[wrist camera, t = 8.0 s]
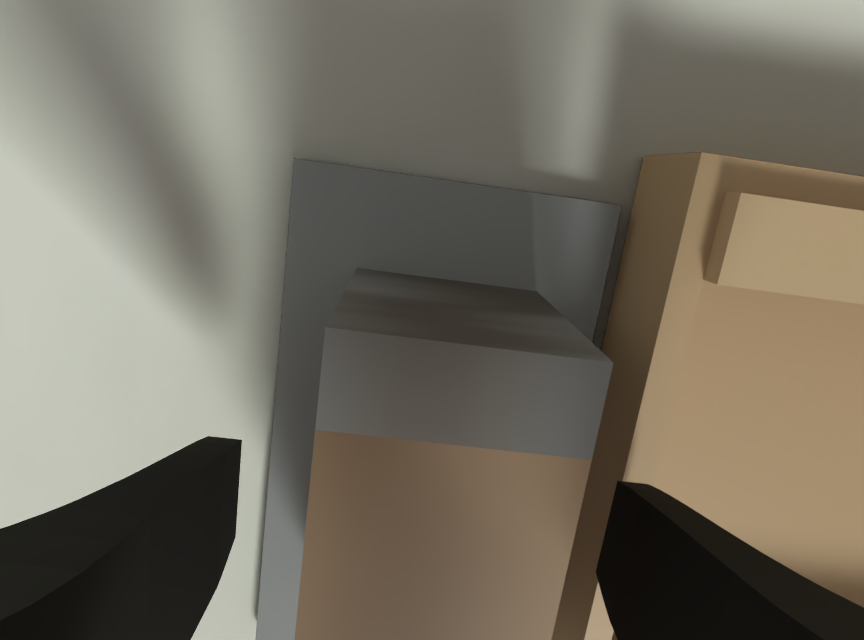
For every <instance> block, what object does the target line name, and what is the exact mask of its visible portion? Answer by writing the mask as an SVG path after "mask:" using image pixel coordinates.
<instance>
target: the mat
mask: <svg viewBox="0 0 864 640" xmlns="http://www.w3.org/2000/svg"><path fill="white" fill-rule="evenodd" d="M621 206H622V205H616V204H609V203H602V202H595V201H589V200H582V199H575V198H568V197H561V196H554V195H547V194H540V193H533V192H526V191H519V190H512V189H505V188H498V187H491V186H484V185H477V184H470V183H463V182H456V181H449V180H442V179H435V178H429V177H422V176H415V175H408V174H401V173H394V172H387V171H380V170H373V169H366V168H359V167H352V166H345V165H338V164H331V163H324V162H317V161H310V160H303V159H296V158H294V167H293V179H292V192H291V204H290V217H289V229H288V242H287V254H286V267H285V279H284V292H283V304H282V316H281V329H280V341H279V354H278V366H277V379H276V391H275V404H274V416H273V429H272V441H271V454H270V466H269V479H268V491H267V504H266V516H265V529H264V541H263V554H262V566H261V578H260V591H259V603H258V616H257V628H256V640H294V639H295V629H296V619H297V609H298V599H299V588H300V578H301V568H302V558H303V548H304V538H305V527H306V517H307V507H308V497H309V487H310V477H311V466H312V456H313V446H314V436H315V426H316V416H317V405H318V395H319V385H320V375H321V365H322V355H323V345H324V334H325V327H326V325H327V323H328V321H329V319H330V317H331V315H332V313H333V312H334V310H335V308H336V306H337V304H338V302H339V300H340V298H341V297H342V295H343V293H344V291H345V289H346V287H347V285H348V283H349V282H350V280H351V278H352V276H353V274H354V272H355V270H356V268H362V269H370V270H378V271H385V272H393V273H401V274H408V275H416V276H424V277H431V278H439V279H447V280H454V281H462V282H469V283H477V284H485V285H492V286H500V287H508V288H515V289H523V290H531V291H537V292H538V293H539V294H540V295H541V296H542V297H544V298H545V299H546V300H547V301H548V302H549V303H550V304H551V305H552V306H553V307H554V308H555V309H556V310H558V311H559V312H560V313H561V314H562V315H563V316H564V317H565V318H566V319H567V320H568V321H569V322H570V323H572V324H573V325H574V326H575V327H576V328H577V329H578V330H579V331H580V332H581V333H582V334H583V335H584V336H586V337H587V338H588V339H589V340H590V341H591V342H592V341H593V337H594V332H595V327H596V323H597V318H598V313H599V309H600V304H601V299H602V295H603V290H604V285H605V281H606V276H607V271H608V267H609V262H610V257H611V252H612V248H613V243H614V238H615V234H616V229H617V224H618V220H619V215H620V210H621Z"/></svg>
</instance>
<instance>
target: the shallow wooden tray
mask: <svg viewBox="0 0 864 640" xmlns="http://www.w3.org/2000/svg"><path fill="white" fill-rule="evenodd" d="M601 351H602V352H603V353H604V354H605V355H606V356H607V357H608V358H609V359H610V360H611V361H612V362H614V363H613V368H612V372H611V377H610V381H609V385H608V390H607V394H606V399H605V403H604V408H603V412H602V417H601V421H600V426H599V430H598V434H597V439H596V443H595V448H594V452H593V457H592V461H591V466H590V470H589V475H588V479H587V483H586V488H585V492H584V497H583V501H582V506H581V510H580V515H579V519H578V524H577V528H576V532H575V537H574V541H573V546H572V550H571V555H570V559H569V564H568V568H567V573H566V577H565V581H564V586H563V590H562V595H561V599H560V604H559V608H558V613H557V617H556V622H555V626H554V630H553V635H552V639H551V640H618V639H617V637H616V635H615V632H614V630H613V628H612V625H611V623H610V620H609V617H608V614H607V610H606V607H605V604H604V601H603V597H602V593H601V590H600V586H599V582H598V578H597V575H596V568H597V564H598V560H599V556H600V551H601V547H602V543H603V539H604V535H605V531H606V526H607V522H608V518H609V514H610V510H611V505H612V501H613V497H614V493H615V489H616V485H617V481H625V482H634V483H643V484H649V485H651V486H653V487H655V488H658V489H659V490H661V491H663V492H665V493H667V494H669V495H670V496H672V497H674V498H675V499H677V500H679V501H680V502H682V503H684V504H685V505H687V506H688V507H690V508H692V509H693V510H695V511H696V512H698V513H700V514H701V515H703V516H704V517H706V518H707V519H709V520H711V521H712V522H714V523H715V524H717V525H718V526H720V527H722V528H723V529H725V530H726V531H728V532H730V533H731V534H733V535H734V536H736V537H738V538H739V539H741V540H742V541H744V542H746V543H747V544H749V545H750V546H752V547H754V548H755V549H757V550H759V551H760V552H762V553H764V554H765V555H767V556H769V557H770V558H772V559H774V560H776V561H777V562H779V563H781V564H783V565H784V566H786V567H788V568H789V569H791V570H793V571H795V572H796V573H798V574H800V575H802V576H803V577H805V578H807V579H809V580H811V581H813V582H814V583H816V584H818V585H820V586H822V587H824V588H826V589H828V590H830V591H832V592H834V593H836V594H838V595H840V596H842V597H844V598H846V599H848V600H850V601H852V602H854V603H856V604H858V605H860V606H862V607H864V177H862V176H856V175H849V174H843V173H836V172H829V171H823V170H816V169H810V168H803V167H797V166H790V165H783V164H777V163H770V162H764V161H757V160H750V159H744V158H737V157H731V156H724V155H718V154H711V153H704V152H696V153H681V154H666V155H651V156H644V157H643V162H642V166H641V171H640V175H639V180H638V184H637V189H636V194H635V198H634V203H633V207H632V212H631V216H630V221H629V226H628V230H627V235H626V239H625V244H624V248H623V253H622V258H621V262H620V267H619V271H618V276H617V280H616V285H615V290H614V294H613V299H612V303H611V308H610V312H609V317H608V322H607V326H606V331H605V335H604V340H603V344H602V349H601Z"/></svg>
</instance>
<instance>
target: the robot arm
mask: <svg viewBox="0 0 864 640" xmlns="http://www.w3.org/2000/svg"><path fill="white" fill-rule="evenodd" d="M241 443H242V440H237V439H228V438H219V437H210V436H208V437H206V438H203V439H201V440H199V441H196V442H194V443H192V444H190V445H188V446H186V447H184V448H183V449H181V450H179V451H177V452H175V453H173V454H171V455H169V456H167V457H165V458H163V459H162V460H160V461H158V462H156V463H154V464H152V465H150V466H148V467H146V468H144V469H142V470H140V471H138V472H136V473H134V474H132V475H130V476H128V477H126V478H124V479H122V480H120V481H118V482H115V483H113V484H111V485H109V486H107V487H105V488H102V489H100V490H98V491H96V492H94V493H92V494H89V495H87V496H85V497H83V498H81V499H79V500H76V501H74V502H71V503H69V504H67V505H64V506H62V507H59V508H57V509H54V510H52V511H49V512H47V513H44V514H41V515H38V516H36V517H33V518H30V519H27V520H25V521H22V522H19V523H16V524H14V525H11V526H8V527H5V528H2V529H0V640H191V638H192V636H193V634H194V632H195V630H196V628H197V626H198V624H199V622H200V620H201V618H202V616H203V614H204V612H205V610H206V608H207V606H208V604H209V602H210V600H211V598H212V596H213V594H214V592H215V590H216V588H217V586H218V584H219V581H220V578H221V576H222V573H223V570H224V568H225V565H226V562H227V559H228V556H229V553H230V551H231V548H232V545H233V542H234V539H235V533H236V518H237V503H238V488H239V473H240V458H241ZM596 575H597V578H598V582H599V586H600V590H601V593H602V597H603V601H604V604H605V607H606V610H607V614H608V617H609V620H610V623H611V625H612V628H613V630H614V632H615V635H616V637H617V639H618V640H864V607H862V606H860V605H858V604H856V603H854V602H852V601H850V600H848V599H846V598H844V597H842V596H840V595H838V594H836V593H834V592H832V591H830V590H828V589H826V588H824V587H822V586H820V585H818V584H816V583H814V582H813V581H811V580H809V579H807V578H805V577H803V576H802V575H800V574H798V573H796V572H795V571H793V570H791V569H789V568H788V567H786V566H784V565H783V564H781V563H779V562H777V561H776V560H774V559H772V558H770V557H769V556H767V555H765V554H764V553H762V552H760V551H759V550H757V549H755V548H754V547H752V546H750V545H749V544H747V543H746V542H744V541H742V540H741V539H739V538H738V537H736V536H734V535H733V534H731V533H730V532H728V531H726V530H725V529H723V528H722V527H720V526H718V525H717V524H715V523H714V522H712V521H711V520H709V519H707V518H706V517H704V516H703V515H701V514H700V513H698V512H696V511H695V510H693V509H692V508H690V507H688V506H687V505H685V504H684V503H682V502H680V501H679V500H677V499H675V498H674V497H672V496H670V495H669V494H667V493H665V492H663V491H661V490H659V489H658V488H655V487H653V486H651V485H649V484H643V483H634V482H625V481H617V485H616V489H615V493H614V497H613V501H612V505H611V510H610V514H609V518H608V522H607V526H606V531H605V535H604V539H603V543H602V547H601V551H600V556H599V560H598V564H597V568H596Z"/></svg>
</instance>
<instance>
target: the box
mask: <svg viewBox="0 0 864 640" xmlns="http://www.w3.org/2000/svg"><path fill="white" fill-rule="evenodd" d="M613 363H614V362H612V361H611V360H610V359H609V358H608V357H607V356H606V355H605V354H604V353H603V352H602V351H601V350H600V349H598V348H597V347H596V346H595V345H594V344H593V343H592V342H591V341H590V340H589V339H588V338H587V337H586V336H584V335H583V334H582V333H581V332H580V331H579V330H578V329H577V328H576V327H575V326H574V325H573V324H572V323H570V322H569V321H568V320H567V319H566V318H565V317H564V316H563V315H562V314H561V313H560V312H559V311H558V310H556V309H555V308H554V307H553V306H552V305H551V304H550V303H549V302H548V301H547V300H546V299H545V298H544V297H542V296H541V295H540V294H539V293H538V292H537V291H531V290H523V289H515V288H508V287H500V286H492V285H485V284H477V283H469V282H462V281H454V280H447V279H439V278H431V277H424V276H416V275H408V274H401V273H393V272H385V271H378V270H370V269H362V268H356V270H355V272H354V274H353V276H352V278H351V280H350V282H349V283H348V285H347V287H346V289H345V291H344V293H343V295H342V297H341V298H340V300H339V302H338V304H337V306H336V308H335V310H334V312H333V313H332V315H331V317H330V319H329V321H328V323H327V325H326V327H325V334H324V345H323V355H322V365H321V375H320V385H319V395H318V405H317V416H316V426H315V436H314V446H313V456H312V466H311V477H310V487H309V497H308V507H307V517H306V527H305V538H304V548H303V558H302V568H301V578H300V588H299V599H298V609H297V619H296V629H295V639H294V640H551V639H552V635H553V630H554V626H555V622H556V617H557V613H558V608H559V604H560V599H561V595H562V590H563V586H564V581H565V577H566V573H567V568H568V564H569V559H570V555H571V550H572V546H573V541H574V537H575V532H576V528H577V524H578V519H579V515H580V510H581V506H582V501H583V497H584V492H585V488H586V483H587V479H588V475H589V470H590V466H591V461H592V457H593V452H594V448H595V443H596V439H597V434H598V430H599V426H600V421H601V417H602V412H603V408H604V403H605V399H606V394H607V390H608V385H609V381H610V377H611V372H612V368H613Z"/></svg>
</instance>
